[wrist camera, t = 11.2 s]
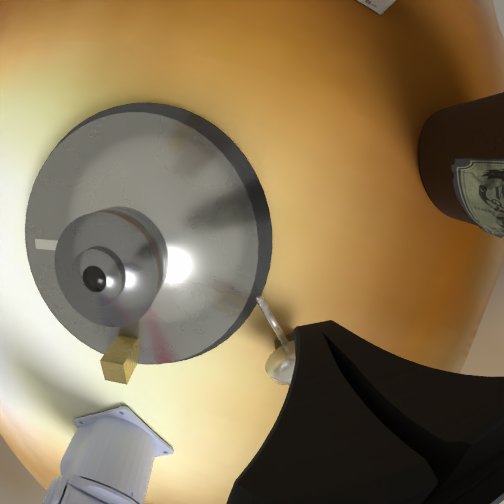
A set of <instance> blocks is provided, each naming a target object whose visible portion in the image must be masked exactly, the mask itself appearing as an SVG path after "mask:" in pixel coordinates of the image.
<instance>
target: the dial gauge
mask: <svg viewBox="0 0 504 504" xmlns="http://www.w3.org/2000/svg"><path fill="white" fill-rule="evenodd" d="M256 301H257V303H258V305H259V306H260V308H261V310H262V311H263V313H264V315H265V316H266V318H267V320H268V322H269V323H270V325H271V327H272V328H273V330H274V332H275V333H276V335H277V337H278V338H279V340H277V341H275V342H274V343H275V348H276V350H275V351H274V352H273V353H272V354H271V355H270V356H269V358H268V360H267V362H266V366H265V369H266V372H267V373H268V375H269V376H270V378H271V379H272V380H273V381H274V382H275V383H277V384H281V385H289V386H290V384H291V380H292V375H293V371H294V366H295V360H296V357H295V344H294V333H292V334H290V335H288V336H285V334H284V333H283V331H282V329H281V327H280V326H279V324H278V322H277V321H276V319H275V317H274V315H273V314H272V312H271V310H270V308H269V307H268V305H267V303H266V301H265V300H264V298H263V296H261V295H259V296H257V297H256Z"/></svg>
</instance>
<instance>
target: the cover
mask: <svg viewBox="0 0 504 504" xmlns="http://www.w3.org/2000/svg"><path fill="white" fill-rule="evenodd" d="M54 264H55V273H56V277H57V281H58V284H59V286H60V289H61V291H62V293H63V295H64V296H65V298H66V299H67V301H68V302H69V304H70V305H71V306H72V307H73V308H74V309H75V310H76V311H77V312H78V313H79V314H80V315H82V316H83V317H85V318H86V319H88V320H89V321H91V322H93V323H96V324H99V325H102V326H106V327H122V326H127V325H130V324H132V323H134V322H136V321H138V320H139V319H140V318H142V317H143V316H144V315H145V314H146V312H147V311H148V310H149V308H150V307H151V305H152V303H153V301H154V300H155V298H156V296H157V294H158V293H159V291H160V289H161V287H162V286H163V284H164V282H165V280H166V277H167V273H168V268H169V255H168V249H167V246H166V242H165V240H164V238H163V235H162V234H161V232H160V230H159V229H158V227H157V226H156V225H155V224H154V223H153V222H152V221H151V220H150V219H149V218H148V217H147V216H146V215H144V214H142V213H141V212H139V211H137V210H135V209H132V208H128V207H122V206H114V207H109V208H105V209H102V210H99V211H95V212H92V213H89V214H86V215H83V216H80V217H78V218H77V219H75V220H73V221H72V222H71V223H70V224H69V225H68V226H67V227H66V228H65V229H64V231H63V232H62V234H61V235H60V238H59V240H58V242H57V246H56V250H55V258H54Z"/></svg>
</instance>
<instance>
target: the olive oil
mask: <svg viewBox="0 0 504 504" xmlns="http://www.w3.org/2000/svg"><path fill="white" fill-rule="evenodd" d="M419 166H420V172H421V176H422V180H423V183H424V186H425V188H426V191H427V193H428V195H429V197H430V198H431V200H432V202H433V203H434V204H435V206H436V207H437V208H438V209H439V210H440V211H441V212H443V213H444V214H446V215H447V216H449V217H452V218H455V219H458V220H461V221H464V222H468V223H471V224H474V225H477V226H479V227H480V228H482V229H483V230H485V231H486V232H488V233H490V234H492V235H495V236H497V237H500V238H502V237H504V92H503V93H499V94H496V95H492V96H489V97H485V98H482V99H478V100H474V101H471V102H467V103H463V104H460V105H456V106H453V107H449V108H446V109H443V110H440V111H438V112H436V113H435V114H433V115H432V116H431V117H430V118H429V119H428V121H427V122H426V124H425V126H424V128H423V130H422V133H421V137H420V142H419Z"/></svg>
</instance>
